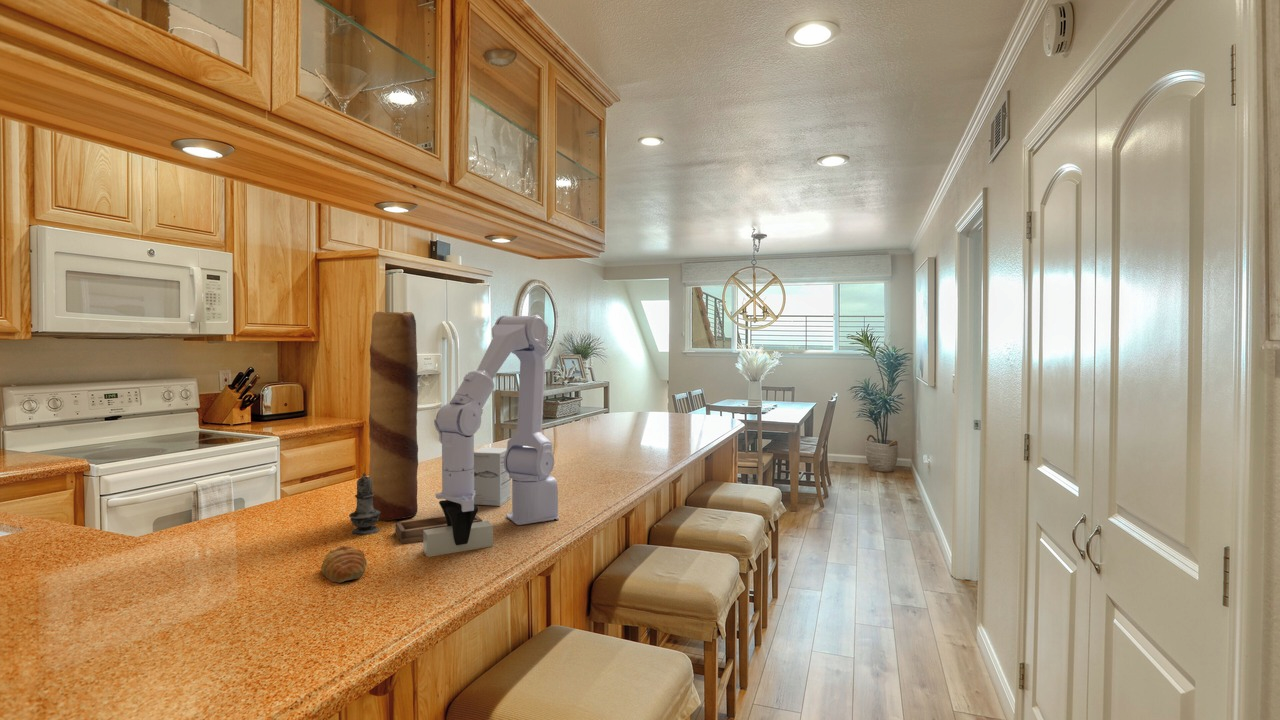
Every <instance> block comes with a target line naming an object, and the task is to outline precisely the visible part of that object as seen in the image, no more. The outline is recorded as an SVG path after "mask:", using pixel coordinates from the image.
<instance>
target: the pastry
mask: <svg viewBox="0 0 1280 720" xmlns="http://www.w3.org/2000/svg"><path fill="white" fill-rule="evenodd" d="M367 563H368V561H367V559H366V557H365V553H364V552H363V551H362V550H361V549H359V548H356V547H355V546H351V545H341V546H338V547H336V548H335V549H331V550H330V551H329V552H328V553H327V554H326V555H325V557H324V559H323V561H322V564H321V566H320V567H321V568H320V569H321V573H322V575H323V576H324V577H325V578H326V579H328V580H330V581H331V582H332V583H338V584H341V583H344V582H345V581H350V580H351V581H352V580H358V579H360V577H361V576H362V574H364V572H365V571H366V567H367Z"/></svg>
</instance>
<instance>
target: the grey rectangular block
mask: <svg viewBox="0 0 1280 720" xmlns="http://www.w3.org/2000/svg"><path fill="white" fill-rule="evenodd" d="M422 546H423V552H424V555H426V557H427V558H430V557H435V556H442V555H448V554H454V553H460V552H465V551H466V552H467V551H472V550H477V549H478V550H479V549H485V548H491V547H493V546H494V525H493V524H492V523H491V522H490V521H488V520H482V522H475V523H472V526H471V531H470V536H469V540H468V543H467V544H462V545H456V544H455V541H454V536H453V529H452V526H447V527H440V528H433V529H426V530H423V543H422ZM490 546H491V547H490Z"/></svg>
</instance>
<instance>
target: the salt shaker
mask: <svg viewBox="0 0 1280 720" xmlns="http://www.w3.org/2000/svg"><path fill="white" fill-rule="evenodd" d="M366 475H367V474H366V472H362V476H361V477H359V478H358V479H357V480H356V494H355V495H354V497H355V498H356V507H355V511H354V512H351V513H349V515H348V517H349V518H350V521H351V523H352V525H353V526H354V528H353V529H352V530H351V531H350V534H351V535H352V536H353V535H354V536H368V535H373V534H375V532H376V533H377V531H378V532H379V531H380V528H379V527H378V526H375V525H376V523H377V522H378V521H379V520H378V518H379V514H380V513H381V512H380V511H378V510H375V509H374V507H373V495H374V493H372V480H371V478H369V476H366ZM372 533H373V534H372ZM367 534H368V535H367Z"/></svg>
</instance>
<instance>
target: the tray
mask: <svg viewBox="0 0 1280 720" xmlns="http://www.w3.org/2000/svg"><path fill="white" fill-rule="evenodd" d="M482 521H483V519H482V518H481V517H479V515H477V514H476V516H475V518H474V520H473V523H475V522H482ZM440 527H447V522H446V518H445V515H440V516H431V517H426V518H417V519H409V520H403V521H395V529H394V532H396V533H395V534H396V536H397V538H398V539H399V541H400V543H401V544H402V545H404V544H409V543H415V542H416V543H417V542H420V541H421V542H422V541H423V530H426V529H433V528H440Z"/></svg>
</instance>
